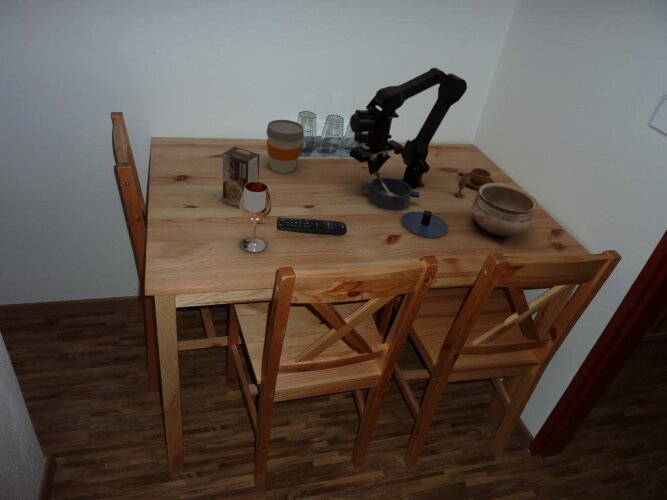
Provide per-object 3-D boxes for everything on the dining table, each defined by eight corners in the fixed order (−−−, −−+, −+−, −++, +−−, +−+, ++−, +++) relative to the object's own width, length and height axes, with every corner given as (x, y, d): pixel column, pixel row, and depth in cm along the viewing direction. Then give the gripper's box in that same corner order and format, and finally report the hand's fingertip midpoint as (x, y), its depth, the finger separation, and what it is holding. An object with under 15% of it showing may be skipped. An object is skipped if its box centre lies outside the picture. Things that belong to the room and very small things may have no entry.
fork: (399, 204, 166) (404, 182, 162) (393, 206, 165) (398, 184, 160) (369, 184, 176) (373, 162, 171) (363, 185, 174) (367, 163, 170)
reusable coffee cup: (273, 177, 172) (276, 135, 163) (259, 161, 181) (261, 120, 172) (306, 172, 178) (310, 132, 169) (291, 157, 186) (294, 118, 178)
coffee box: (258, 202, 157) (261, 154, 148) (247, 210, 152) (248, 161, 143) (233, 193, 160) (234, 145, 151) (221, 201, 155) (221, 152, 146)
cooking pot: (484, 253, 150) (497, 218, 143) (446, 219, 163) (456, 186, 156) (545, 240, 161) (559, 207, 154) (505, 210, 174) (516, 178, 167)
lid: (401, 210, 164) (404, 197, 162) (446, 218, 164) (450, 205, 161) (400, 234, 152) (404, 220, 150) (448, 243, 152) (453, 229, 149)
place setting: (504, 195, 184) (510, 180, 180) (457, 198, 177) (462, 183, 173) (478, 172, 197) (482, 158, 193) (433, 175, 190) (437, 160, 186)
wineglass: (239, 235, 141) (241, 178, 131) (269, 237, 142) (272, 180, 132) (237, 253, 135) (238, 193, 124) (268, 254, 136) (272, 196, 125)
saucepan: (361, 187, 174) (364, 172, 171) (416, 196, 174) (419, 182, 171) (357, 206, 163) (360, 191, 160) (416, 216, 163) (420, 201, 159)
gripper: (385, 117, 172) (377, 159, 181) (342, 124, 162) (336, 168, 171) (408, 129, 165) (398, 172, 174) (365, 138, 155) (357, 183, 164)
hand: (372, 174), depth 171 cm, fingers closed on fork, 1 cm apart
